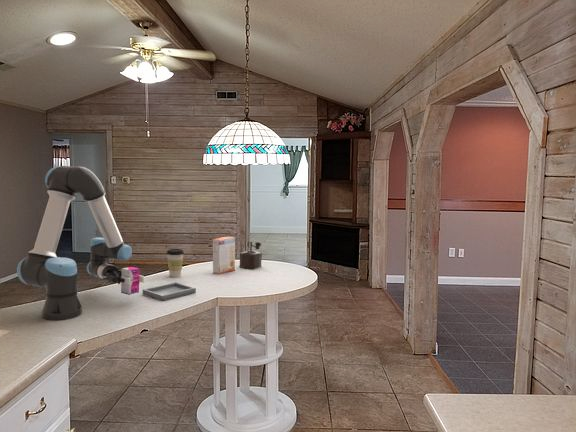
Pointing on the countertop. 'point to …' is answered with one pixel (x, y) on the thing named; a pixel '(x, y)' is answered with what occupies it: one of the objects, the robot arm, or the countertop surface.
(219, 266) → the cracker box
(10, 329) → the countertop surface
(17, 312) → the countertop surface
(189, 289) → the tray
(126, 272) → the supplement box
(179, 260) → the coffee cup
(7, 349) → the countertop surface
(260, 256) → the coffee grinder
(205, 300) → the countertop surface
